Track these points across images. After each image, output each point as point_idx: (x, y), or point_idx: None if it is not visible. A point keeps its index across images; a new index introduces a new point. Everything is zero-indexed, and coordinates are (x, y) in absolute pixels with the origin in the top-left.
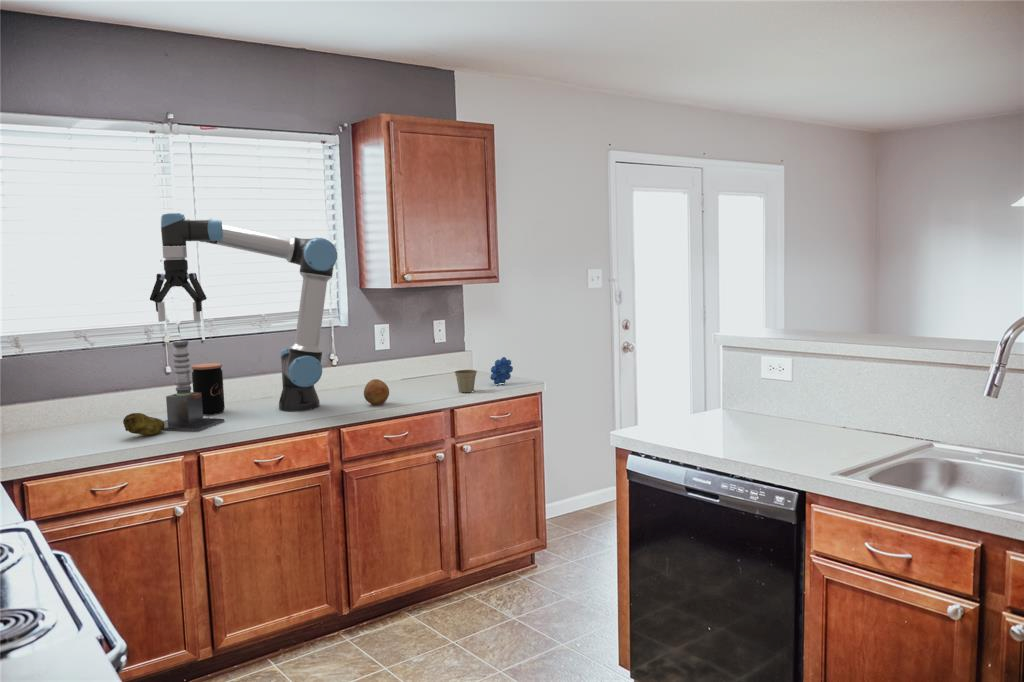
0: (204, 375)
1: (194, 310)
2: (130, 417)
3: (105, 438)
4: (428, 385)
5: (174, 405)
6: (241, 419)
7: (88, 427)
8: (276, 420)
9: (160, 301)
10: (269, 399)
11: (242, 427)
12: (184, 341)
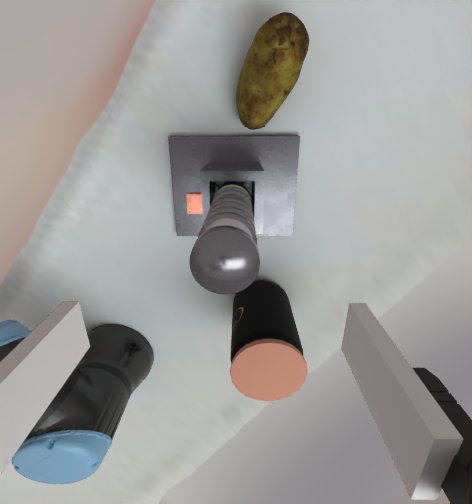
0: (253, 330)
1: (10, 359)
2: (281, 19)
3: (344, 31)
4: (32, 498)
5: (240, 168)
6: (157, 255)
7: (449, 140)
8: (83, 255)
9: (451, 491)
10: (216, 402)
11: (104, 189)
12: (201, 262)
